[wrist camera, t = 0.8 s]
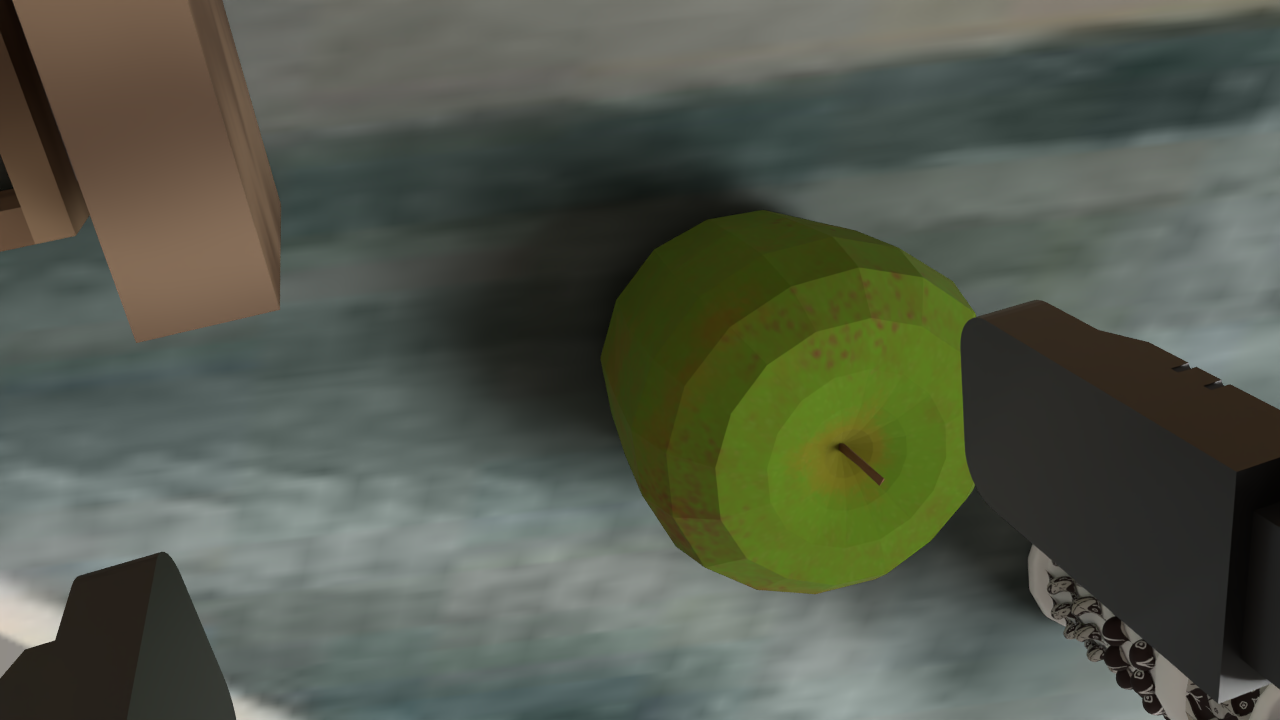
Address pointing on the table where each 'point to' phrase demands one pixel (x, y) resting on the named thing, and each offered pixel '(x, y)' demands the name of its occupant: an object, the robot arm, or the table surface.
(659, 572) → the table surface
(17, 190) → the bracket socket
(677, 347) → the apple
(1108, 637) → the decorative candle
